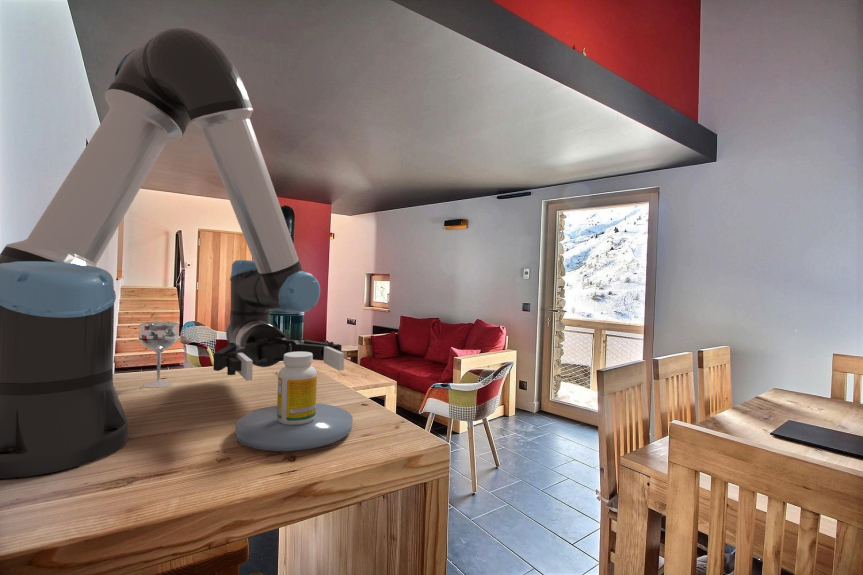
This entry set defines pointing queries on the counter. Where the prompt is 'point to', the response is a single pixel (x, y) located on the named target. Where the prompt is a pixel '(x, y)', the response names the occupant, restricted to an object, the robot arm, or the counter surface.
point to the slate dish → (293, 429)
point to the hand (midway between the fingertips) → (298, 366)
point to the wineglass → (158, 343)
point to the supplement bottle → (297, 389)
